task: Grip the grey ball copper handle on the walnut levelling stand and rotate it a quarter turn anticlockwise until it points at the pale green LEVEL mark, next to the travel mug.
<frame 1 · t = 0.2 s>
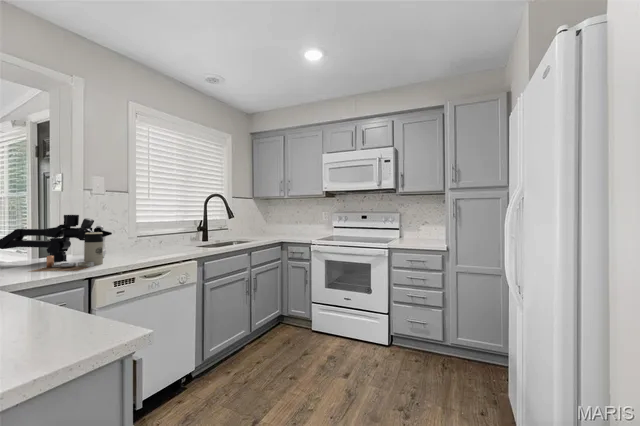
hand: (107, 234, 174), 16 cm above the countertop, tool horizontal, fingers open, 9 cm apart
plastic bottle: (99, 257, 193), on the countertop
stand: (62, 270, 148), on the countertop
grey ball copper handle: (61, 261, 151), point 4 cm above the countertop, hinge at 0.0°
travel mug: (93, 266, 161), on the countertop
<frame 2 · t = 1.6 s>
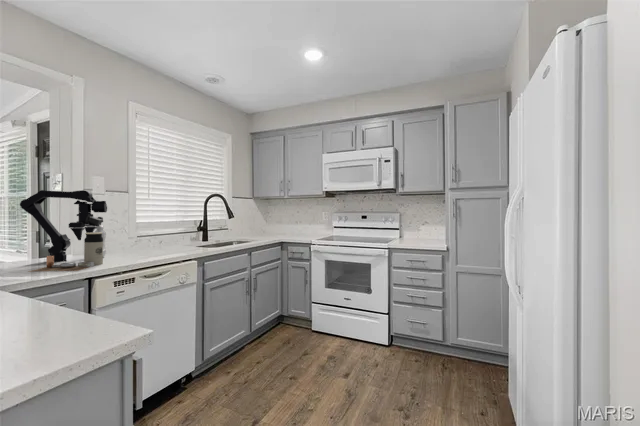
hand: (84, 239, 174), 13 cm above the countertop, tool pointing down, fingers open, 9 cm apart
nothing on the countertop moved.
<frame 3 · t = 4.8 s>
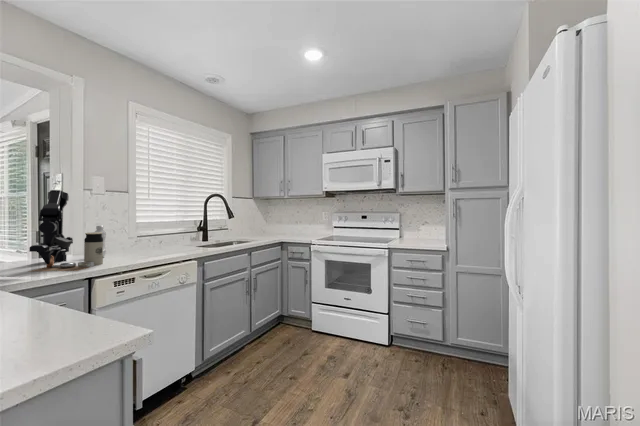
hand: (50, 263, 150), 3 cm above the countertop, tool pointing down, fingers closed on grey ball copper handle, 3 cm apart
grey ball copper handle: (61, 261, 151), point 4 cm above the countertop, hinge at -0.1°, touching gripper
everything else where it was.
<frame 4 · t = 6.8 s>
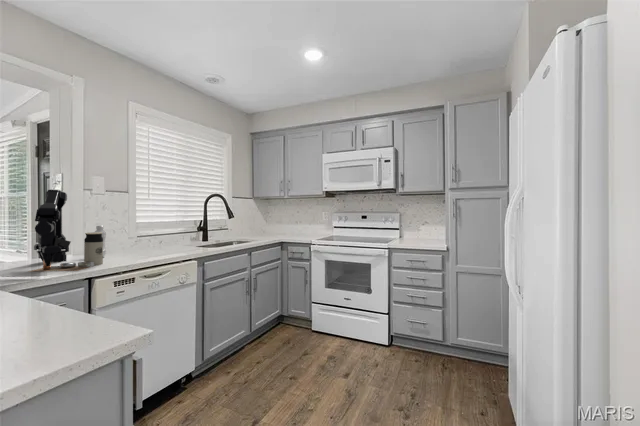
hand: (47, 265, 145), 3 cm above the countertop, tool pointing down, fingers closed on grey ball copper handle, 3 cm apart
grey ball copper handle: (60, 262, 149), point 4 cm above the countertop, hinge at 44.9°, touching gripper
everything else where it was.
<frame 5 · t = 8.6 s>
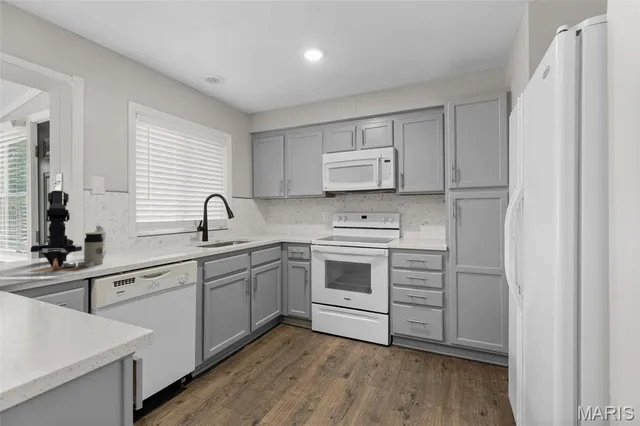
hand: (56, 266, 144), 3 cm above the countertop, tool pointing down, fingers closed on grey ball copper handle, 3 cm apart
grey ball copper handle: (63, 262, 148), point 4 cm above the countertop, hinge at 89.3°, touching gripper
everything else where it was.
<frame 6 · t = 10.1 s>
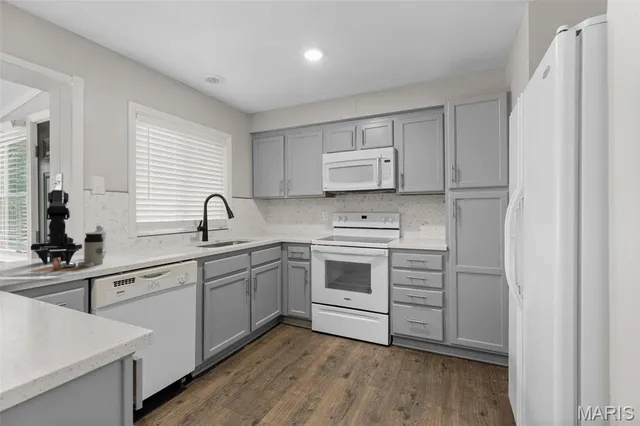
hand: (56, 264, 144), 4 cm above the countertop, tool pointing down, fingers open, 9 cm apart
grey ball copper handle: (63, 262, 148), point 4 cm above the countertop, hinge at 89.4°
everything else where it was.
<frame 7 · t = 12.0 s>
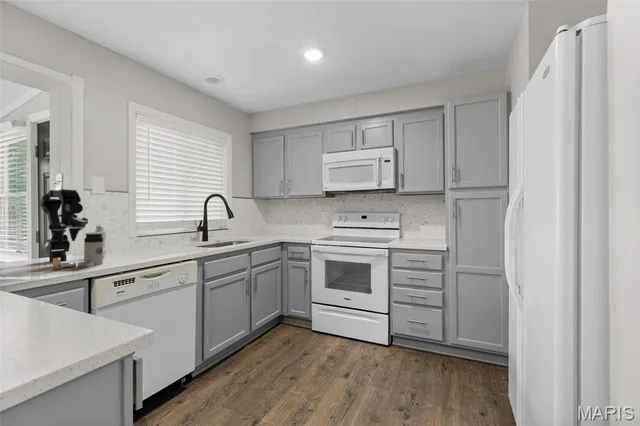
hand: (67, 241, 163), 13 cm above the countertop, tool pointing down, fingers open, 9 cm apart
nothing on the countertop moved.
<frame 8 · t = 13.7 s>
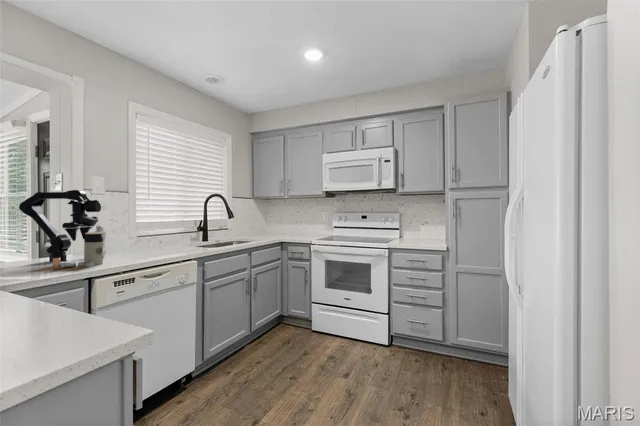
hand: (79, 240, 171), 13 cm above the countertop, tool pointing down, fingers open, 9 cm apart
nothing on the countertop moved.
at the end: grey ball copper handle at +89° (first picture: +0°); the gripper is holding nothing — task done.
